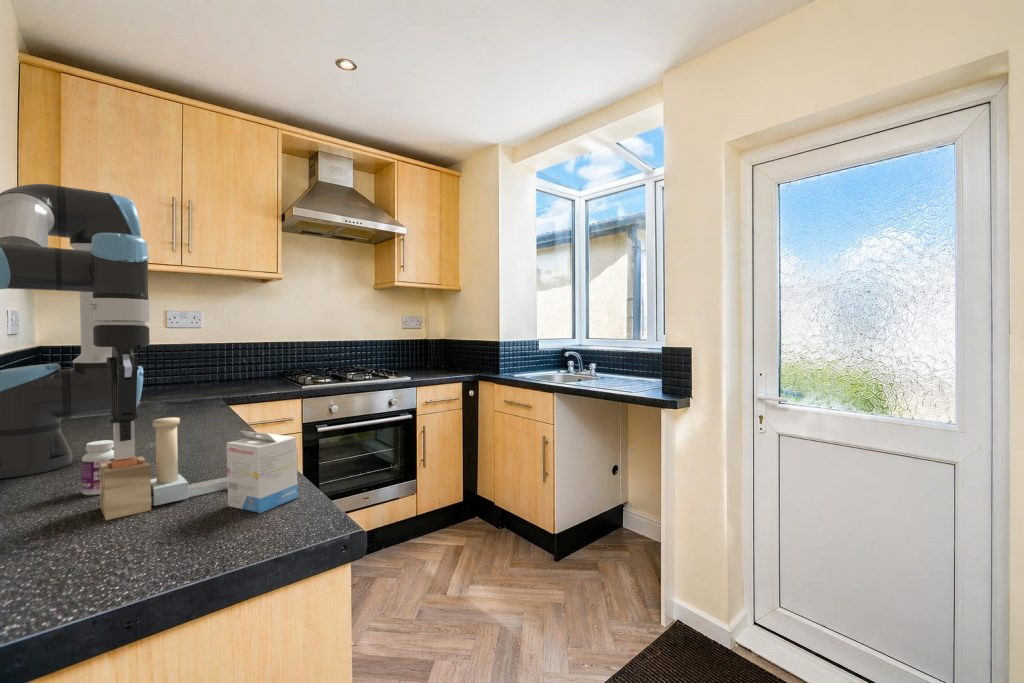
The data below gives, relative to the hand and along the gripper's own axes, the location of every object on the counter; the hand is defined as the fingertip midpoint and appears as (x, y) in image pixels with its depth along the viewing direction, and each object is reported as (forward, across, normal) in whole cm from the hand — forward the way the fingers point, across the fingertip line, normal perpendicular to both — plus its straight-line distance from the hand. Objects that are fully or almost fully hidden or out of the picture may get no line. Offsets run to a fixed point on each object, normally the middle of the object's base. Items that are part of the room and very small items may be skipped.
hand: (124, 457), depth 81 cm
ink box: (+9, +14, +18) cm, 25 cm away
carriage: (+9, 0, +6) cm, 11 cm away
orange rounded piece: (+4, 0, 0) cm, 4 cm away
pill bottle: (+9, -15, -2) cm, 18 cm away
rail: (+9, 0, +10) cm, 14 cm away
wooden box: (+9, 0, 0) cm, 9 cm away
